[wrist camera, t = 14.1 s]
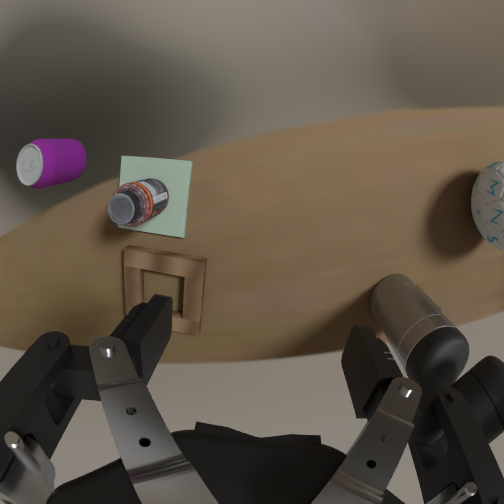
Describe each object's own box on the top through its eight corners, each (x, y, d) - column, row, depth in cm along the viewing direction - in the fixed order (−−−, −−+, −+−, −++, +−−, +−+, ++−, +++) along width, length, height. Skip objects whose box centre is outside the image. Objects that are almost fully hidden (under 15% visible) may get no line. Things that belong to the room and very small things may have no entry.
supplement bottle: (149, 221, 45) (116, 242, 34) (129, 192, 43) (92, 204, 33) (177, 201, 43) (149, 215, 33) (156, 170, 42) (123, 175, 31)
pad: (192, 161, 42) (191, 161, 41) (184, 236, 46) (183, 237, 45) (123, 155, 42) (121, 155, 42) (119, 226, 46) (117, 227, 45)
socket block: (207, 258, 47) (204, 262, 45) (200, 329, 51) (198, 336, 49) (128, 245, 47) (123, 248, 45) (130, 314, 51) (126, 319, 49)
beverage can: (89, 135, 41) (44, 134, 30) (89, 179, 44) (45, 188, 32) (57, 141, 41) (13, 143, 30) (58, 182, 44) (15, 192, 32)
